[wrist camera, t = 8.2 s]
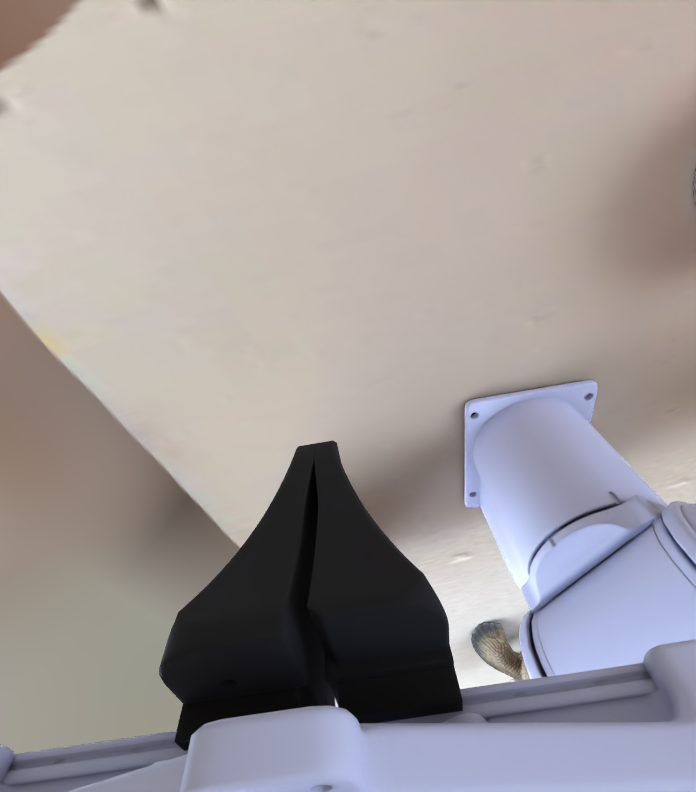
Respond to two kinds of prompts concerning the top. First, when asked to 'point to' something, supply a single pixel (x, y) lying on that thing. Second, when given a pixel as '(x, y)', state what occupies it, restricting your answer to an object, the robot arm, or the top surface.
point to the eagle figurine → (499, 651)
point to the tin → (694, 187)
